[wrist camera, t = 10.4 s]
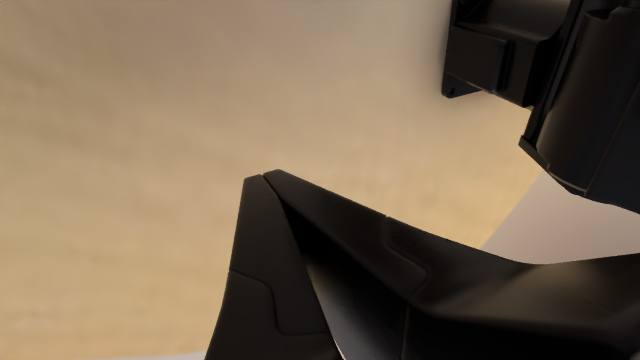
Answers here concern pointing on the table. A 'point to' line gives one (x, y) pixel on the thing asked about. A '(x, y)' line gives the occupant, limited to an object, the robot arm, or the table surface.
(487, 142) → the table surface
